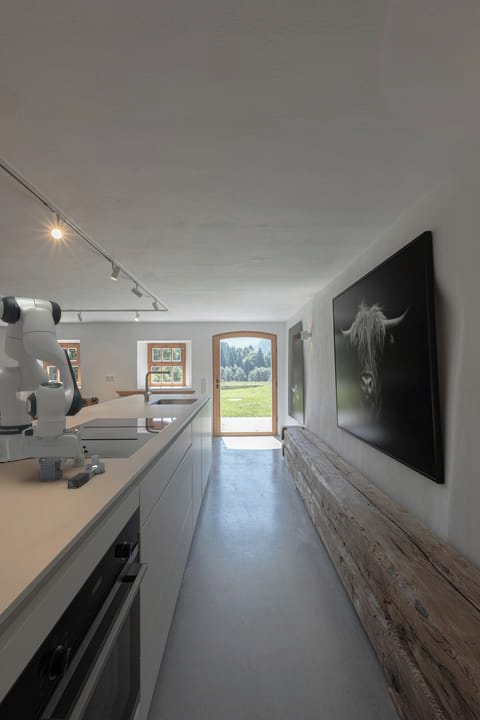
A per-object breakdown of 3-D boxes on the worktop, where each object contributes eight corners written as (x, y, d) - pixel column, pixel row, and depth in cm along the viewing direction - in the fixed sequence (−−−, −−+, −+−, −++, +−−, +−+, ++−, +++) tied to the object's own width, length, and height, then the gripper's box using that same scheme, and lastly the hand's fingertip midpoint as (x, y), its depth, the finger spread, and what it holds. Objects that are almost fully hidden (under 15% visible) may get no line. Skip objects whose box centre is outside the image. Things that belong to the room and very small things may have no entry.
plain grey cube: (40, 481, 118) (40, 462, 118) (48, 476, 123) (48, 458, 123) (55, 481, 118) (55, 462, 118) (62, 476, 123) (62, 458, 123)
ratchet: (62, 488, 111) (62, 469, 111) (90, 469, 131) (90, 453, 131) (82, 488, 111) (82, 469, 111) (107, 469, 131) (107, 453, 131)
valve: (88, 466, 136) (88, 459, 147) (88, 449, 136) (87, 443, 147) (70, 468, 133) (70, 461, 144) (69, 451, 134) (70, 444, 144)
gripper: (85, 427, 124) (85, 466, 124) (28, 428, 124) (28, 467, 124) (77, 430, 118) (77, 472, 117) (16, 431, 118) (16, 472, 118)
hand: (51, 469), depth 121 cm, fingers closed on plain grey cube, 5 cm apart
